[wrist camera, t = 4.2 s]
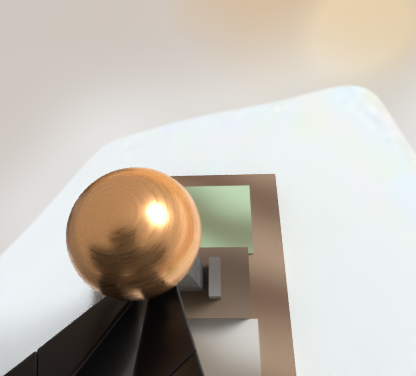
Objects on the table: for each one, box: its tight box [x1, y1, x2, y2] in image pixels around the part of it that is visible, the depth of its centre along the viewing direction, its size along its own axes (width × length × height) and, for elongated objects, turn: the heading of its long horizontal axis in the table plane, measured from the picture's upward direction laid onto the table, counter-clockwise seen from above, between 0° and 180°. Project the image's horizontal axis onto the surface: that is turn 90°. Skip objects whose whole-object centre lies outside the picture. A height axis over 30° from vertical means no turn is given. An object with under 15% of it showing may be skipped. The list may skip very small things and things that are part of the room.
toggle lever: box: [66, 168, 205, 301], centre depth 11 cm, size 3×3×12 cm
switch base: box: [101, 174, 296, 376], centre depth 18 cm, size 16×12×5 cm
